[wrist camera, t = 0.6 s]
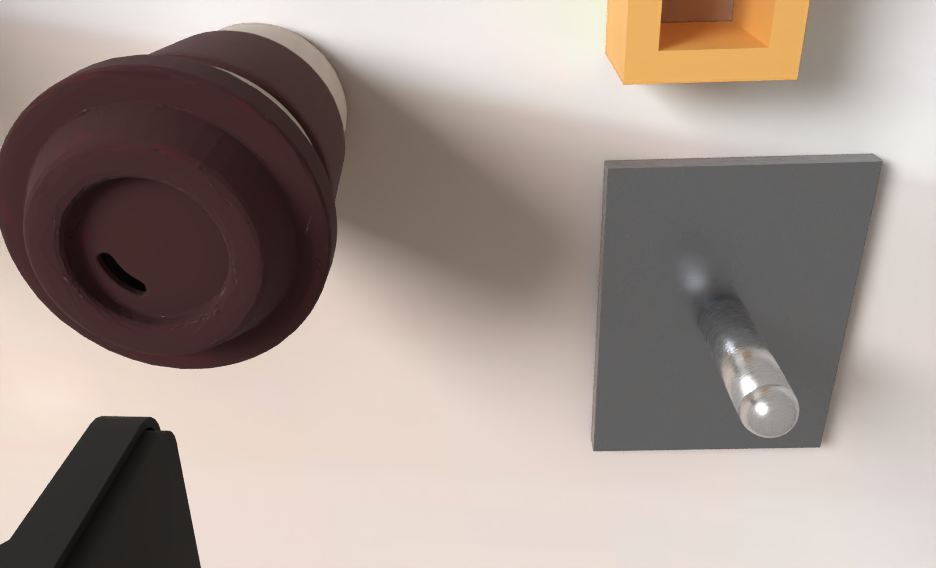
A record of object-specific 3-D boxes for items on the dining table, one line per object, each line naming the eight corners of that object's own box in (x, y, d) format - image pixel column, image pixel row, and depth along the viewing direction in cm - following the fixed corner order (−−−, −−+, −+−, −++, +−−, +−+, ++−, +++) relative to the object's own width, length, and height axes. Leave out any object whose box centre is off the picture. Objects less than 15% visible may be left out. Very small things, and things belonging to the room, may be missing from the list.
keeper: (604, 160, 37) (639, 250, 29) (872, 153, 37) (983, 242, 29) (591, 439, 45) (615, 571, 37) (813, 435, 45) (887, 567, 36)
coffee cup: (357, -27, 34) (278, 60, 20) (394, 197, 38) (350, 386, 25) (122, 1, 34) (-102, 103, 21) (187, 218, 39) (38, 413, 26)
